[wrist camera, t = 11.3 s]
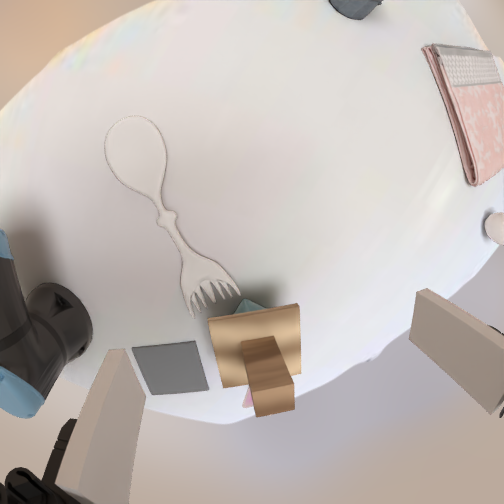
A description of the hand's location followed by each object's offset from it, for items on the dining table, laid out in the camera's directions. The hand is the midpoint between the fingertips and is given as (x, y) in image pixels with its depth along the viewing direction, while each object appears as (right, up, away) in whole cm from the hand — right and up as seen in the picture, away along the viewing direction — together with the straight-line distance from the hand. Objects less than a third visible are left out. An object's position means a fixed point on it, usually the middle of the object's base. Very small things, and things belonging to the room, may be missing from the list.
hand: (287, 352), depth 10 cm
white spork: (-14, +10, +29) cm, 34 cm away
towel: (+57, +41, +32) cm, 77 cm away
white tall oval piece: (+60, +11, +40) cm, 73 cm away
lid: (-1, -9, +26) cm, 28 cm away
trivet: (-17, -18, +35) cm, 43 cm away
